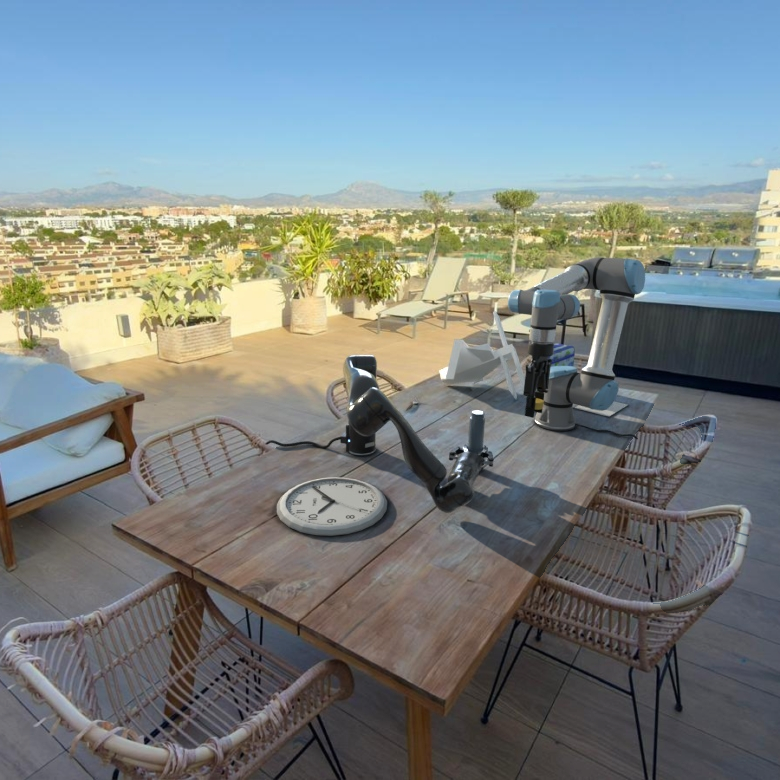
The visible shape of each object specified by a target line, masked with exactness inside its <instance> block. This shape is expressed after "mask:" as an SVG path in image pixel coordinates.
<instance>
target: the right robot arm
mask: <svg viewBox="0 0 780 780" xmlns="http://www.w3.org/2000/svg"><path fill="white" fill-rule="evenodd" d="M645 284H646V269H645V266H644V264H643V263H642V261H641V260H638V259H633V258H627V257H626V258H623V257H622V258H621V257H601V256H598V257H597V256H596V257H592V258H588V259H584V260H581V261H578V262H576V263H574V264H572V265H570V266H568V267H567V268H566V269H565V270H564V272H561V273H560V274H557V275H556V276H553V277H551V278H548V279H547V280H545V281H542V282H541V283H539V284H536V285H534V286H533V287H531V288H528V289H526V290H524V289H513V290H512V291H511V292H510V294H509V295H508V298H507V306H508V310H509V311H510V312H511V313H516V314H519V315H528V316H531V317H530V328H529V329H528V332H529V335H528V336H529V337H528V340H529V341H528V345H527V354H528V355H530V356H531V360H530V363H529V364H525V375H524V378H525V384H524V391H523V397H526V401H525V409H524V417H528V418H532V419H534V424H535V425H536V426H537V427H539V428H542V429H544V430H549V431H556V432H567V431H572V430H574V429H575V428H576V426H577V427H579V428H580V427H581V428H583V429H587V430H590V431H594V432H601V433H610V434H613V435H615V436H618V437H632V438H634V439H635V440H639V438H638V436H636V435H635V434H631V433H624V434H621V433H618V432H615V431H613V430H610V429H598V428H593V427H591V426H586V425H583V424H579V423H576V418H575V417H576V416H575V413H574V407H573V405H575V406H578V405H580V406H584V407H588V408H590V409H595V410H600V411H603V410H606V409H608V408H609V407H610V406H611V405H612V404H613V402H615V400H616V398H617V396H618V394H619V387H620V386H619V385H620V384H619V382H618V381H617V380H615V378H616V374H615V373H614V371H613V368H614V363H615V359H616V355H617V351H618V348H619V342H620V339H621V335H622V331H623V327H624V323H625V318H626V314H627V310H628V306H629V304H630V303H631V302H633V301H634V300H635V297H636V295H639V294H641V293H642V292H643V290H644V288H645ZM583 290H594V291H599V297H600V298H601V305H600V309H599V313H598V317H597V321H596V325H595V329H594V335H593V339H592V342H591V347H590V352H589V356H588V360H587V364H586V366H584V367H583V368H581V371H580V372H578V368H577V367H576V366H574V365H573V366H554V367H551V363H552V359H548V357H549V356H552V355H553V351H554V344H555V343H554V342H556V334H557V324H558V321H561V320H569V319H572V318H573V317H576V316H577V315H578V313H579V312H580V311H581V310H580V309H581V302H580V300H579V298H578V296H576V295H575V294H571V293H572V292H580V291H583ZM535 372H536V373H535ZM536 388H537V389H536ZM536 398H538V399H542V400H543V401H544V404H543V409H540V410H535V402H536Z"/></svg>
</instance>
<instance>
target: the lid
mask: <svg viewBox="0 0 780 780" xmlns="http://www.w3.org/2000/svg"><path fill="white" fill-rule="evenodd" d="M543 404H544V401H543V400H542V399H538V398H536V402H535V410H540V409H543Z"/></svg>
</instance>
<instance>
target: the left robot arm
mask: <svg viewBox="0 0 780 780" xmlns="http://www.w3.org/2000/svg"><path fill="white" fill-rule="evenodd" d="M342 373H343V377H344V381H345V383H346V384H345V385H346V387H345V388H346V395H347V406H346V417H347V424H346V425H345V431H344V432H343V433H342V434H341V435H340V436H337V437H333V438H332V439H330V440H329V441H328V443H327V444H325V445H322V444H319V443H317V442H314V441H311V440H310V441H309V440H305V441H298V442H297V441H296V442H290V443H282V442H279V441H277V440H274V439H269V440H267V441H266V442H265V443H264V445H266V446H268V445H270V444H274V445H277V446H279V447H294V446H295V447H296V446H299V445H300V446H301V445H312V446H314V447H317V448H320V449H329V448H330V446H332V444H333V443H334V442H336V441H339V442H340V444H344V445H345V452H346V453H348V454H350V455H352V456H357V457H368V456H370V455H371V456H372V455H373V454H375V453H376V449H377V447H376V445H377V443H376V436H377V435H376V434H377V432H378V431H379V430H381V429H382V428H383V427H384V426H385V425H386V424H388V422H391V423H392V424H393V426H394V427H395V429H396V430H397V433H398V436H399V440H400V444H401V450H402V455H403V459H404V462H405V464H406V466H407V467H408V469H409V471H411V472H412V474H414V476H415V477H416V478H417V479H418V480H420V482H421V483H422V484H423V485H424V487H425V488H426V490H427V492H428V494H429V495H430V497H431V499H432V501H433V503H434V505H435V506H436V508H437V509H438V510H439V511H441V512H442V513H444V514H452V513H453V512H455V511H457V510H458V509H460V508H462V507H464V506H466V505H468V504H469V503H470V502H471V501H472V500H473V499H474V497H475V489H474V483H475V482H476V480H477V479H478V477H479V475H480V472H481V471H480V469H481V470H482V467H484V465H488V467H489V468H490V467H491V468H492V467H494V461H495V457H494V454H493V451H490V450H489V447H488V446H487V445H483V449H482V451H478V452H476V453H473V452H468V442H467V443H465V444H464V445H463V446H462V447H461V446H455V447H454V448H453V449H451V450H450V451H449V454H448V460H449V461H454V460H455V462H454V463H453V464H452V466H451V471H450V472H449V475H448V476H447V474H448V471H447V468H446V466H445V465H444V464H443V462H441V461H440V460H439V459H438V458H437V457H436V456H435V455H434V453H433V452H432V451H431V450H430V449H429V448H428V447H427V446H426V445H425V443H424V442H423V440H422V439H421V438H420V437H419V435H418V434H417V432H416V431H415V429H414V428H413V427H412V426H411V424H410V423H409V422H408V421H407V419H406V418H405V416H404V415H403V414H402V413H401V411H400V410H399V409H398V408H397V406H396V405H395V403H394V402H393V401H392V400H391V399H390V397H388V396H387V394H386V393H384V392H383V391H382V390H381V389H380V385H379V383H378V380H377V378H378V377H377V376H378V375H377V374H378V361H377V358H376V357H375V355H372V354H371V355H370V354H365V355H364V354H361V355H360V354H359V355H357V354H356V355H354V354H353V355H347V356H346V357H345V358H344V361H343V365H342ZM446 476H447V482H446V483H445V484H443V485H442V484H441V483H442V482H443V481H444V480H445V479H446Z"/></svg>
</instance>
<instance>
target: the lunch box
mask: <svg viewBox="0 0 780 780" xmlns="http://www.w3.org/2000/svg"><path fill="white" fill-rule="evenodd" d="M553 344H554V351H553V355H552V356H549V357H548V359H552V363H551V367H554V366H573V367H574V363H575V352H576V351H575V346H573V345H568V344H562V343H553ZM535 373H536V372H535ZM536 390H537V388H536Z"/></svg>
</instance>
